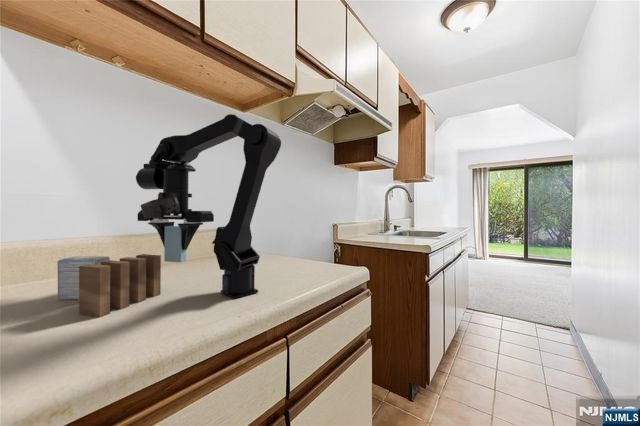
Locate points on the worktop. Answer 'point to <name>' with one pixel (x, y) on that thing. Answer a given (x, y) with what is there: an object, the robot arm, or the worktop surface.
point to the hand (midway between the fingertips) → (175, 249)
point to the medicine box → (73, 274)
